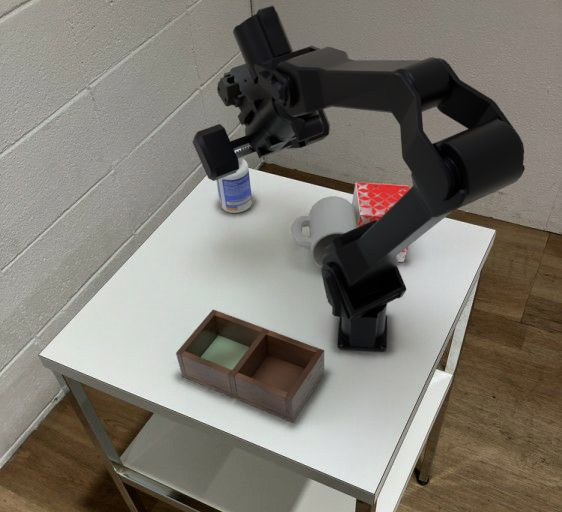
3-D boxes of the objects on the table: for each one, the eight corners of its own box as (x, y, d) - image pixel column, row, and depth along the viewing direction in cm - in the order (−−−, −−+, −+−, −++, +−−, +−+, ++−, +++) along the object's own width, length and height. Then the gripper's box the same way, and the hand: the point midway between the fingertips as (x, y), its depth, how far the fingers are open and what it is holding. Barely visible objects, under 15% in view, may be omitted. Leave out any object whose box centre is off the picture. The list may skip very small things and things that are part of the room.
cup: (350, 235, 100) (356, 272, 94) (287, 231, 99) (289, 269, 94) (359, 196, 95) (365, 233, 89) (292, 191, 94) (294, 229, 88)
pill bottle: (259, 202, 106) (254, 149, 98) (236, 218, 104) (229, 165, 96) (235, 190, 108) (229, 138, 101) (213, 205, 106) (205, 153, 98)
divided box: (324, 373, 82) (324, 350, 78) (292, 422, 77) (291, 399, 74) (217, 332, 87) (212, 309, 84) (181, 376, 83) (175, 352, 79)
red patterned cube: (355, 181, 93) (360, 214, 88) (408, 185, 94) (416, 218, 88) (347, 226, 99) (351, 259, 94) (397, 229, 100) (403, 262, 95)
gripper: (318, 31, 81) (278, 83, 95) (186, 73, 75) (165, 122, 90) (352, 116, 82) (307, 154, 97) (225, 163, 77) (198, 196, 91)
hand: (246, 155), depth 94 cm, fingers open, 9 cm apart
